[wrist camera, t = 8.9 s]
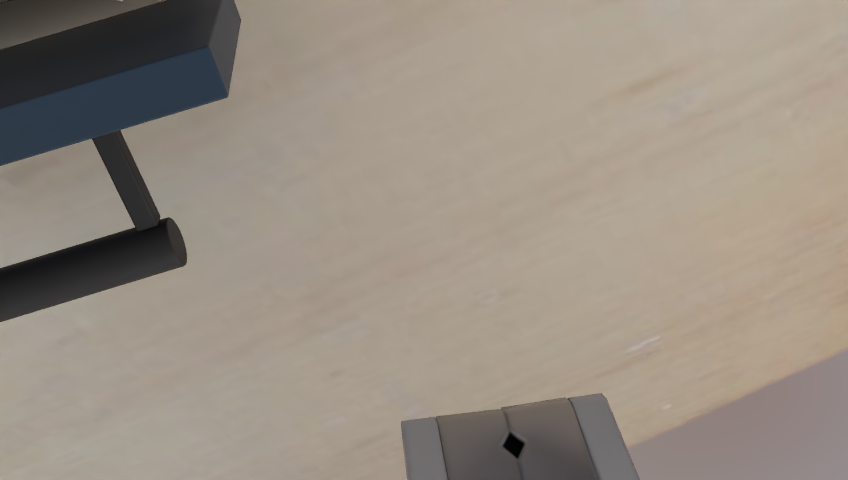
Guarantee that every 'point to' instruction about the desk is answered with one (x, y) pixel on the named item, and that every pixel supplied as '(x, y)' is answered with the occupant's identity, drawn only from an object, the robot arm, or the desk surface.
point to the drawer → (109, 130)
